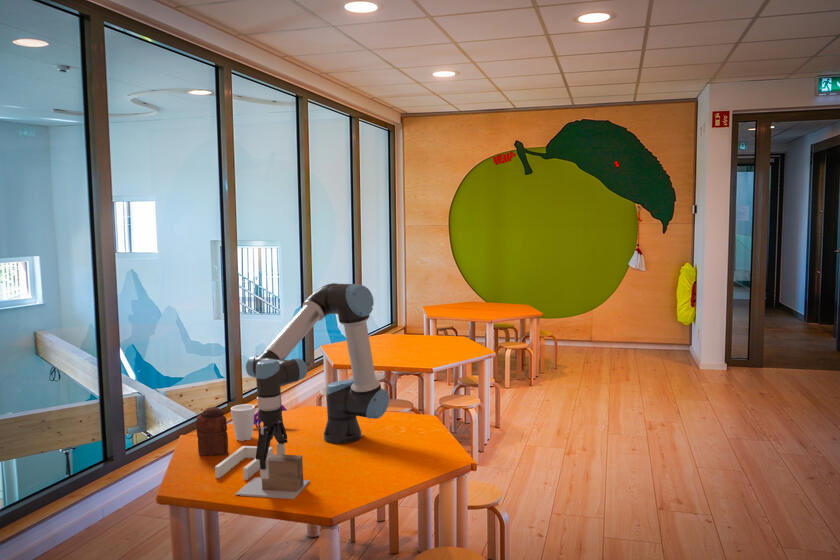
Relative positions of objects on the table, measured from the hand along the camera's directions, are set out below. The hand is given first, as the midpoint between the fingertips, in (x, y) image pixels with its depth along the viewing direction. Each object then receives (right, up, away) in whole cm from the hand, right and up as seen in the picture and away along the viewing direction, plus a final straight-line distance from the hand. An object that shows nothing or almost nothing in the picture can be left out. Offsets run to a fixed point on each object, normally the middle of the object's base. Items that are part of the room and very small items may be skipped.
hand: (273, 470), depth 225 cm
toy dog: (-17, -1, +67) cm, 69 cm away
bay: (-15, -5, +19) cm, 25 cm away
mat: (0, -6, 0) cm, 6 cm away
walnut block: (+3, -6, 0) cm, 6 cm away
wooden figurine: (-31, -4, +36) cm, 47 cm away
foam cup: (-23, -2, +53) cm, 58 cm away
